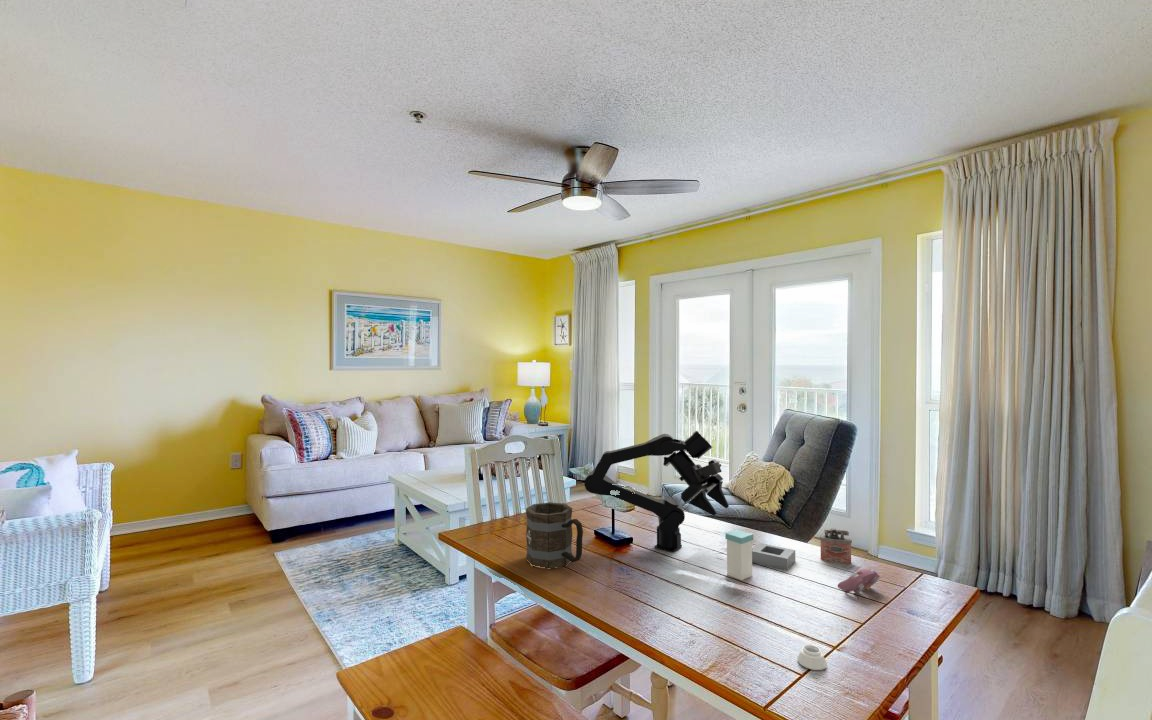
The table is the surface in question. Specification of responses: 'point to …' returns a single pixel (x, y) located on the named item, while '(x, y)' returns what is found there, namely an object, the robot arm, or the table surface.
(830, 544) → the lighter
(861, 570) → the video game controller
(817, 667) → the white jar
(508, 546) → the table surface
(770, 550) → the grey hollow block
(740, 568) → the plug
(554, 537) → the mug
